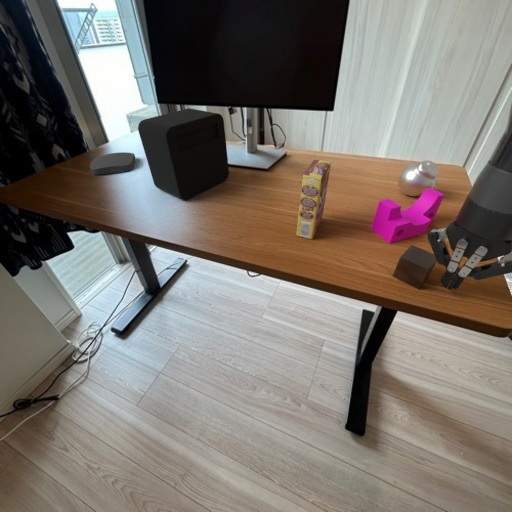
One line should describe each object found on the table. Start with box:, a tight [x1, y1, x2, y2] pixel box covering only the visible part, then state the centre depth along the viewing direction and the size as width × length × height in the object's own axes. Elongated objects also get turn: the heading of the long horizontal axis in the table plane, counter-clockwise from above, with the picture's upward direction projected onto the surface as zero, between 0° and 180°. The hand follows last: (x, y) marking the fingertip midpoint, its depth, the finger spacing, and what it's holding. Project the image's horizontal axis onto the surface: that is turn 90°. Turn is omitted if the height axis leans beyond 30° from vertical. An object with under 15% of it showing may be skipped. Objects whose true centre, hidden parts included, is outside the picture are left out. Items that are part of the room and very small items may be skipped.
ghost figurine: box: [397, 159, 440, 197], centre depth 73 cm, size 9×10×10 cm
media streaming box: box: [89, 151, 137, 175], centre depth 100 cm, size 15×15×3 cm
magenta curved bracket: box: [370, 188, 445, 244], centre depth 62 cm, size 15×6×8 cm, turn 111°
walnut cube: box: [392, 244, 438, 290], centre depth 50 cm, size 5×5×5 cm
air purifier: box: [137, 108, 230, 201], centre depth 80 cm, size 20×15×20 cm
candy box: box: [295, 159, 332, 240], centre depth 60 cm, size 9×4×15 cm, turn 156°
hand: (448, 286), depth 48 cm, fingers closed
